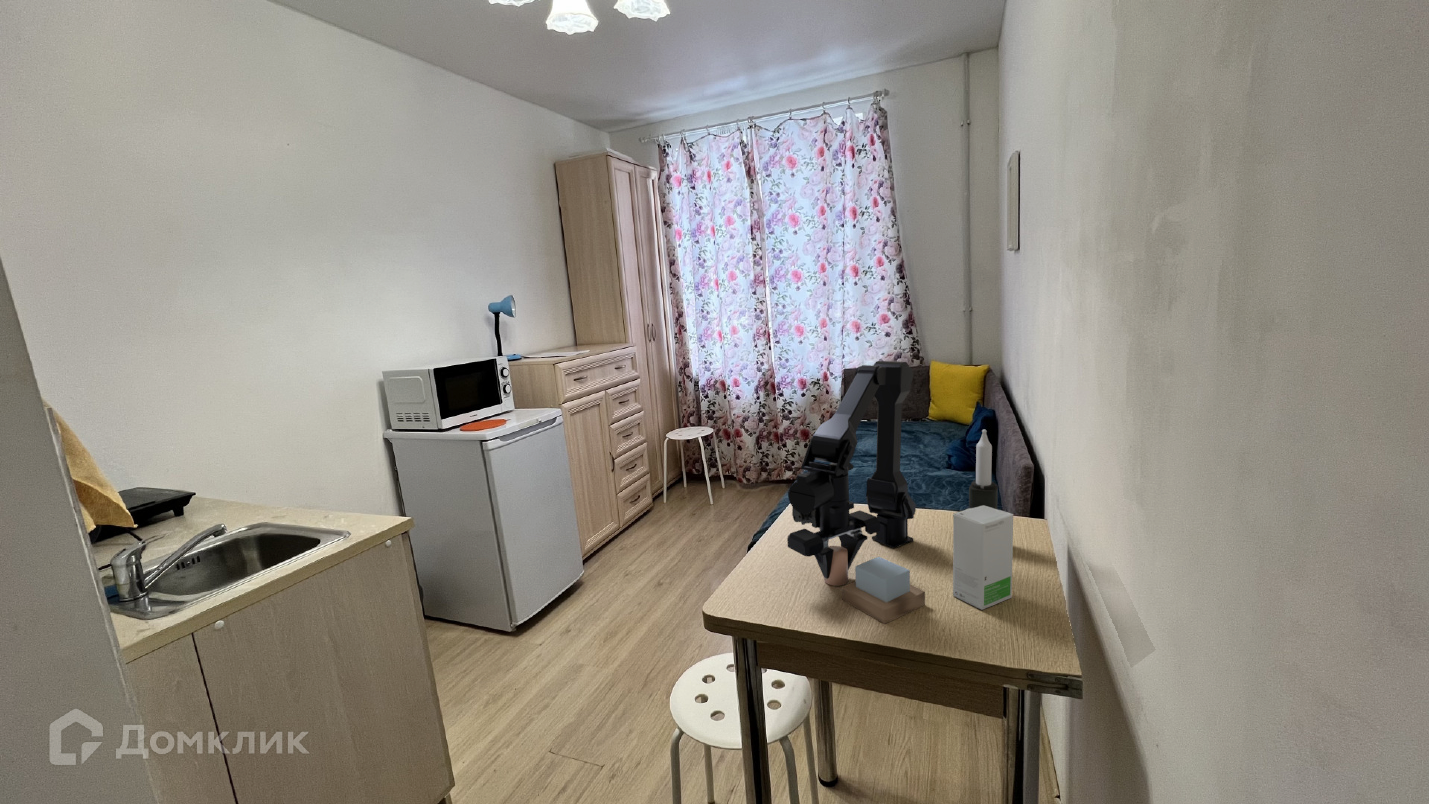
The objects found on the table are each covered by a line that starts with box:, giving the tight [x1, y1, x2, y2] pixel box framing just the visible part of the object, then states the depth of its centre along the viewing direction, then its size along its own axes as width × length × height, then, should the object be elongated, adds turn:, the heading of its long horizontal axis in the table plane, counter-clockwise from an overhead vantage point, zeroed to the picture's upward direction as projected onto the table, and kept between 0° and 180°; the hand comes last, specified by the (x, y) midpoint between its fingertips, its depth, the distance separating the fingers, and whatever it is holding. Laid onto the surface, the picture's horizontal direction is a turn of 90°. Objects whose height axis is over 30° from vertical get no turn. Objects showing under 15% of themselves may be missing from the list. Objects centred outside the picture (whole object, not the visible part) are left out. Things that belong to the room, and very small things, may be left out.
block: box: [854, 556, 911, 603], centre depth 103 cm, size 6×7×4 cm
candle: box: [968, 429, 999, 509], centre depth 122 cm, size 5×5×25 cm
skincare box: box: [952, 505, 1015, 610], centre depth 103 cm, size 8×7×16 cm
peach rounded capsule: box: [823, 545, 849, 587], centre depth 112 cm, size 5×5×6 cm
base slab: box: [841, 580, 926, 625], centre depth 104 cm, size 10×10×2 cm
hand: (835, 573), depth 113 cm, fingers closed on peach rounded capsule, 5 cm apart
